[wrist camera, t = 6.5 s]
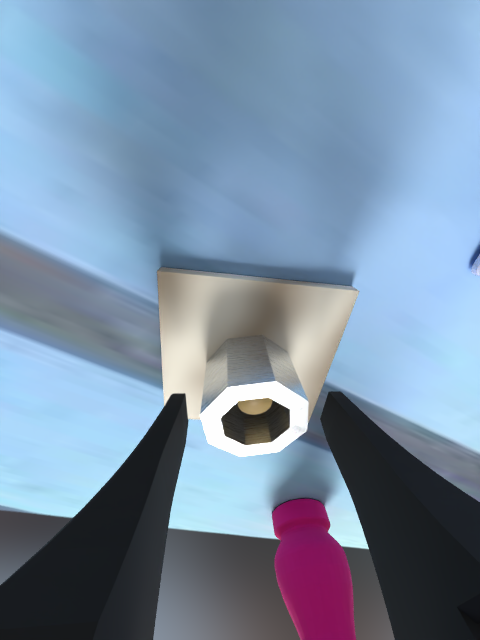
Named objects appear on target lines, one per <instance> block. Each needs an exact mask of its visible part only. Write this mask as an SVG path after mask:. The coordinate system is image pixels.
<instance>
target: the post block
mask: <svg viewBox="0 0 480 640" xmlns="http://www.w3.org/2000/svg"><path fill="white" fill-rule="evenodd" d="M157 278H158V297H159V316H160V335H161V354H162V372H163V391H164V406H165V404H166V403H167V401H168V399H169V397H170V395H172V394H173V393H185V394H186V404H187V414H188V419H201V416H200V412H201V403H202V395H203V387H204V378H205V370H206V362H207V361H208V360H209V359H210V357H211V356H212V355H213V354H214V353H215V352H216V351H217V350H218V348H219V347H220V346H221V345H222V344H223V343H224V342H225V341H226V339H230V338H238V337H246V336H254V335H264V336H265V337H267V338H268V339H270V340H271V341H273V342H274V343H276V344H277V345H278V346H280V347H281V348H283V349H284V350H286V351H287V352H288V354H289V356H290V359H291V361H292V363H293V366H294V368H295V370H296V373H297V375H298V377H299V380H300V382H301V384H302V387H303V389H304V392H305V394H306V396H307V399H308V401H309V405H308V422H309V420H310V417H311V415H312V412H313V410H314V407H315V404H316V402H317V399H318V397H319V394H320V392H321V389H322V386H323V384H324V381H325V379H326V376H327V373H328V371H329V368H330V366H331V363H332V361H333V358H334V355H335V353H336V350H337V348H338V345H339V343H340V340H341V337H342V335H343V332H344V330H345V327H346V325H347V322H348V319H349V317H350V314H351V312H352V309H353V307H354V304H355V301H356V299H357V296H358V294H359V290H357V289H355V288H354V287H352V286H343V285H333V284H323V283H313V282H304V281H294V280H284V279H274V278H264V277H254V276H244V275H235V274H225V273H215V272H205V271H195V270H185V269H175V268H166V267H161V268H160V269H159V270H158V271H157ZM271 405H272V399H271V398H269V397H265V398H257V399H249V400H241V401H238V407H239V409H240V410H241V411H243V412H244V413H247V414H252V415H255V414H260V413H263V412H265V411H267V410H268V409H269V408H270V407H271Z"/></svg>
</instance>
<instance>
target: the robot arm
mask: <svg viewBox="0 0 480 640" xmlns="http://www.w3.org/2000/svg"><path fill="white" fill-rule="evenodd" d="M471 272H472V273H473V274H474V275H478V276H480V254H479V256H478V257H477V259H476V261H475V262H474V264H473V266H472V268H471ZM320 420H321V423H322V426H323V430H324V433H325V436H326V439H327V442H328V444H329V446H330V449H331V451H332V453H333V456H334V458H335V460H336V463H337V465H338V467H339V469H340V472H341V474H342V476H343V478H344V481H345V483H346V485H347V487H348V490H349V492H350V495H351V497H352V500H353V502H354V505H355V508H356V511H357V514H358V517H359V520H360V523H361V525H362V528H363V531H364V535H365V538H366V541H367V544H368V547H369V550H370V553H371V556H372V560H373V563H374V566H375V570H376V573H377V576H378V580H379V583H380V586H381V590H382V593H383V597H384V600H385V604H386V608H387V611H388V615H389V619H390V622H391V626H392V630H393V634H394V638H395V640H480V502H478V501H477V500H475V499H474V498H472V497H471V496H469V495H468V494H466V493H465V492H463V491H462V490H460V489H459V488H457V487H456V486H454V485H453V484H451V483H450V482H448V481H447V480H445V479H444V478H443V477H441V476H440V475H438V474H437V473H436V472H434V471H433V470H431V469H430V468H429V467H427V466H426V465H425V464H423V463H422V462H421V461H419V460H418V459H417V458H415V457H414V456H413V455H412V454H410V453H409V452H408V451H407V450H405V449H404V448H403V447H402V446H401V445H399V444H398V443H397V442H396V441H395V440H393V439H392V438H391V437H390V436H389V435H387V434H386V433H385V432H384V431H383V430H382V429H381V428H379V427H378V426H377V425H376V424H375V423H374V422H373V421H372V420H371V419H369V418H368V417H367V416H366V415H365V414H364V413H363V412H362V411H361V410H360V409H359V408H358V407H357V406H356V405H354V404H353V403H352V402H351V401H350V400H349V399H348V398H347V397H346V396H345V395H344V394H343V393H341V392H329V393H328V396H327V399H326V402H325V406H324V409H323V412H322V415H321V418H320ZM187 428H188V414H187V404H186V394H185V393H173V394H172V395H170V397H169V399H168V401H167V403H166V404H165V406H164V408H163V409H162V411H161V412H160V414H159V415H158V417H157V419H156V420H155V422H154V423H153V424H152V426H151V427H150V429H149V430H148V432H147V433H146V435H145V436H144V437H143V439H142V440H141V441H140V443H139V444H138V445H137V447H136V448H135V449H134V451H133V452H132V453H131V454H130V456H129V457H128V458H127V459H126V461H125V462H124V463H123V464H122V466H121V467H120V468H119V469H118V470H117V471H116V473H115V474H114V475H113V476H112V477H111V478H110V480H109V481H108V482H107V483H106V484H105V485H104V486H103V487H102V488H101V489H100V491H99V492H98V493H97V494H96V495H95V496H94V497H93V498H92V499H91V500H90V501H89V502H88V503H87V504H86V505H85V507H84V508H83V509H82V510H81V511H80V512H79V513H78V514H77V515H76V516H74V517H73V518H72V519H71V520H70V521H69V523H67V524H66V525H65V526H64V527H63V528H62V529H61V530H60V531H59V532H58V533H57V534H56V535H55V536H54V537H53V538H52V539H51V540H50V541H49V542H48V543H47V544H46V545H45V546H44V547H42V548H41V549H40V550H39V551H38V552H37V553H36V554H35V555H34V556H32V557H31V559H29V560H28V561H27V562H26V563H25V564H24V565H23V566H22V567H20V568H19V569H18V570H17V571H16V572H15V573H14V574H13V575H12V576H10V578H8V579H7V580H6V581H5V582H4V583H3V584H1V585H0V640H153V635H154V627H155V618H156V611H157V603H158V596H159V588H160V580H161V573H162V566H163V558H164V552H165V544H166V538H167V531H168V525H169V518H170V511H171V506H172V501H173V496H174V492H175V487H176V483H177V479H178V474H179V470H180V466H181V461H182V457H183V453H184V448H185V444H186V436H187Z"/></svg>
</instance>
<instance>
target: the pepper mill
mask: <svg viewBox="0 0 480 640" xmlns="http://www.w3.org/2000/svg"><path fill="white" fill-rule="evenodd" d="M272 519H273V526H274V533H275V536H276V537H277V538H278V539H280V540H281V542H280V545H279V547H278V550H277V553H276V556H275V571H276V576H277V581H278V585H279V588H280V591H281V594H282V597H283V599H284V602H285V604H286V606H287V609H288V611H289V613H290V615H291V618H292V620H293V622H294V624H295V626H296V629H297V631H298V634H299V636H300V639H301V640H356V636H355V626H354V614H353V613H354V611H353V586H352V580H351V573H350V569H349V565H348V561H347V558H346V554H345V552H344V550H343V548H342V547H341V545H340V544H339V543H338V542H337V541H336V540H335V539H334V538H333V537H332V536H331V535H330V534H329V533H328V530H329V528H330V522H329V519H328V516H327V513H326V510H325V507H324V505H323V504H322V503H321V502H319V501H317V500H314V499H295V500H290V501H288V502H285V503H283V504H281V505H279V506H278V507H277V508H276V509H275V510H274V511H273V514H272Z"/></svg>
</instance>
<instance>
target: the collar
mask: <svg viewBox="0 0 480 640" xmlns="http://www.w3.org/2000/svg"><path fill="white" fill-rule="evenodd" d="M265 397H269V398H271V399H272V405H271V407H270V408H269V409H268V410H267V411H265V412H263V413H260V414H255V415H252V414H247V413H244V412H243V411H241V410H240V409H239V407H238V401H241V400H249V399H257V398H265ZM308 405H309V401H308V399H307V396H306V394H305V392H304V389H303V387H302V384H301V382H300V380H299V377H298V375H297V373H296V370H295V368H294V366H293V363H292V361H291V359H290V356H289V354H288V352H287V351H286V350H284V349H283V348H281V347H280V346H278V345H277V344H276V343H274V342H273V341H271V340H270V339H268V338H267V337H265V336H264V335H254V336H246V337H238V338H230V339H226V341H225V342H224V343H223V344H222V345H221V346H220V347H219V348H218V350H217V351H216V352H215V353H214V354H213V355H212V356H211V357H210V359H209V360H208V361H207V362H206V370H205V378H204V387H203V395H202V403H201V412H200V416H201V420H202V423H203V427H204V430H205V434H206V437H207V441H208V443H209V444H212V445H214V446H216V447H219V448H221V449H223V450H226V451H228V452H231V453H233V454H235V455H238V456H240V457H241V456H249V455H257V454H265V453H273V452H279V451H281V450H282V449H283V448H285V447H286V446H287V445H289V444H290V443H291V442H293V441H294V440H295V439H297V438H298V437H299V436H301V435H302V434H303V433H305V432H306V431H307V424H308Z"/></svg>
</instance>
